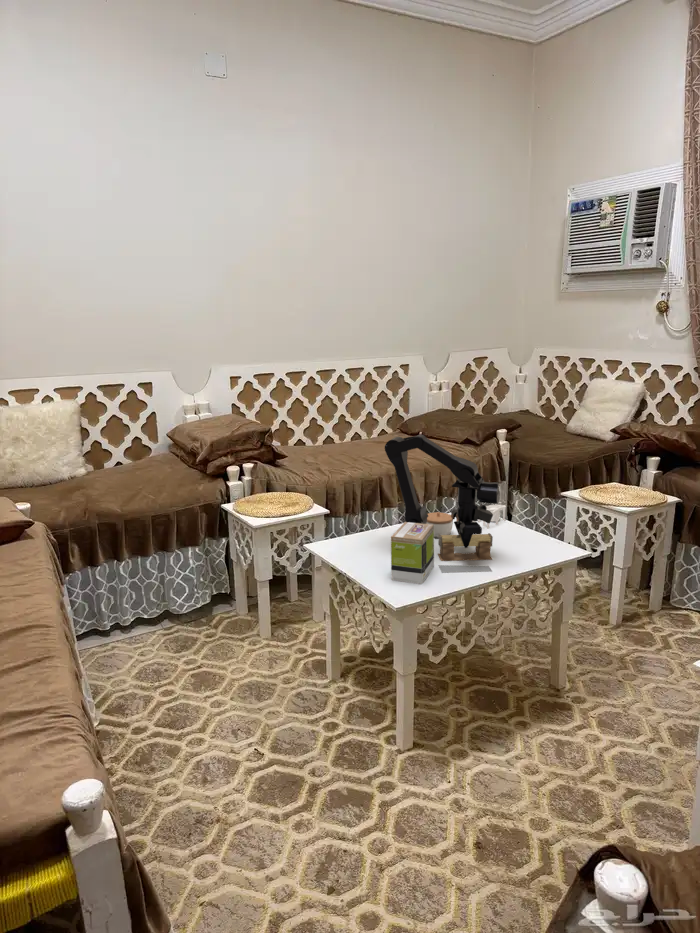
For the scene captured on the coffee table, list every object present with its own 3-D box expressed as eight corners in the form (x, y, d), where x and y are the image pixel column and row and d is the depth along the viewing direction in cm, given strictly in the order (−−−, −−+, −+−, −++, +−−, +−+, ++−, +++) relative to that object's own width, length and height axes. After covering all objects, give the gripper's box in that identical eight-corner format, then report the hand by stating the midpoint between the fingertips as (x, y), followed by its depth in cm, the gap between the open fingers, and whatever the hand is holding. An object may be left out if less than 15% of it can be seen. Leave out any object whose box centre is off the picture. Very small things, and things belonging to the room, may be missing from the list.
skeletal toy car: (497, 520, 256) (498, 502, 255) (513, 528, 246) (514, 509, 244) (452, 526, 250) (452, 507, 248) (467, 534, 239) (467, 515, 238)
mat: (441, 573, 203) (441, 572, 203) (437, 565, 210) (437, 564, 210) (492, 572, 204) (492, 571, 204) (486, 564, 211) (486, 562, 211)
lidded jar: (424, 541, 232) (424, 516, 230) (422, 532, 242) (422, 508, 240) (454, 542, 232) (455, 516, 229) (450, 532, 242) (451, 508, 240)
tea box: (404, 563, 212) (405, 520, 209) (434, 567, 208) (435, 523, 205) (390, 581, 198) (390, 535, 195) (422, 585, 195) (423, 538, 191)
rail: (440, 547, 213) (440, 537, 212) (438, 544, 216) (438, 534, 215) (492, 546, 214) (492, 536, 213) (489, 542, 217) (489, 533, 216)
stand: (440, 562, 213) (441, 544, 211) (437, 555, 218) (438, 538, 217) (492, 561, 213) (493, 543, 212) (487, 554, 219) (488, 537, 218)
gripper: (498, 508, 203) (496, 555, 206) (484, 492, 221) (482, 536, 224) (463, 509, 202) (461, 556, 206) (451, 493, 220) (450, 537, 224)
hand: (465, 546), depth 215 cm, fingers closed on rail, 3 cm apart
